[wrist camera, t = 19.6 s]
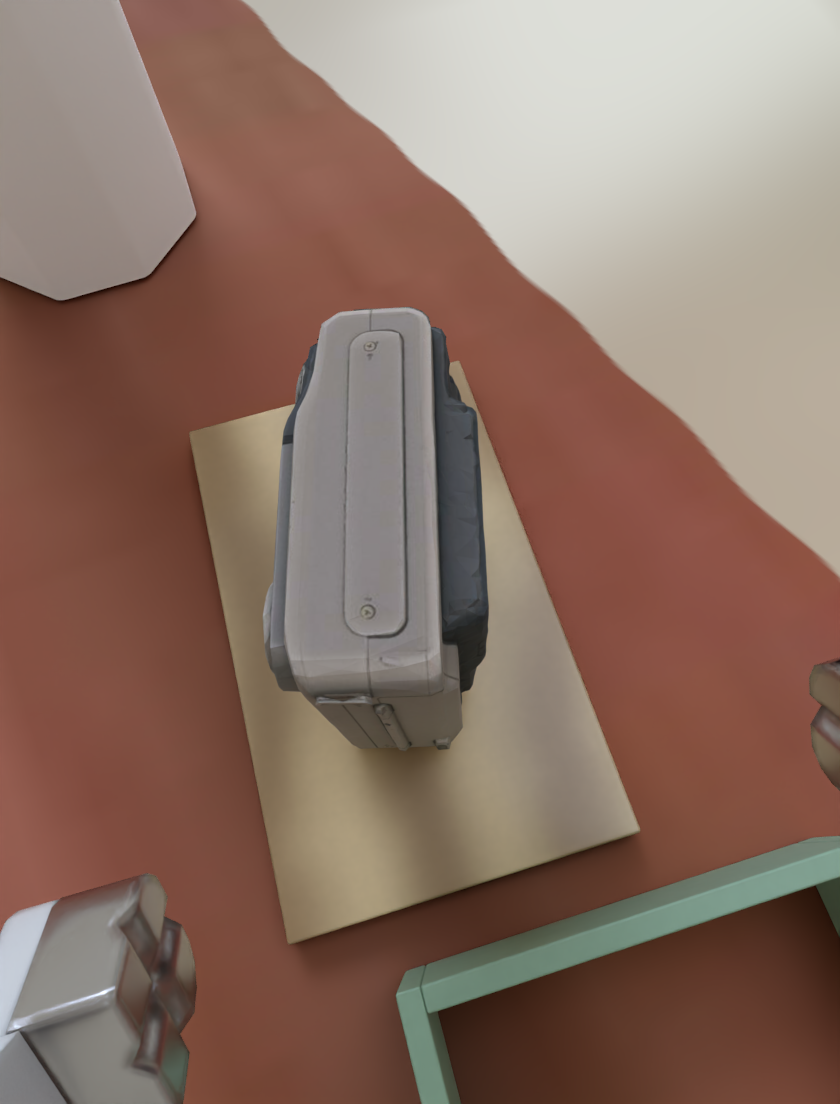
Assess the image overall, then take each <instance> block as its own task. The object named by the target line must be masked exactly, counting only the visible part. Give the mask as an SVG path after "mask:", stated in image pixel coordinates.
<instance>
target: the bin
mask: <svg viewBox="0 0 840 1104" xmlns="http://www.w3.org/2000/svg"><path fill="white" fill-rule="evenodd" d="M815 885H816V887H817V890H818V892H819V894H820V896H821V898H822V900H823V903H824V905H825V907H826V909H827V911H828V913H829V915H830V918H831V920H832V922H833V924H834V926H835V928H836V931H837V933H838V935H839V937H840V836H829V837H815V838H810V839H807V840H804V841H801V842H798V843H797V844H792V845H789V846H786V847H783V848H780V849H777V850H774V851H771V852H767V853H764V854H761V855H758V856H755V857H752V858H749V859H746V860H743V861H740V862H737V863H734V864H731V865H728V866H725V867H722V868H719V869H716V870H713V871H710V872H707V873H703V874H700V875H697V876H694V877H691V878H688V879H685V880H682V881H679V882H676V883H673V884H670V885H667V886H664V887H661V888H658V889H655V890H652V891H649V892H646V893H643V894H639V895H636V896H633V897H630V898H627V899H624V900H621V901H618V902H615V903H612V904H609V905H606V906H603V907H600V908H597V909H594V910H591V911H588V912H585V913H582V914H579V915H575V916H572V917H569V918H566V919H563V920H560V921H557V922H554V923H551V924H548V925H545V926H542V927H539V928H536V929H533V930H530V931H527V932H524V933H521V934H518V935H515V936H511V937H508V938H505V939H502V940H499V941H496V942H493V943H490V944H487V945H484V946H481V947H478V948H475V949H472V950H469V951H466V952H463V953H460V954H457V955H454V956H451V957H447V958H444V959H441V960H438V961H435V962H432V963H429V964H427V965H426V966H424V965H423V966H420V967H417V968H414V969H411V970H408V971H406V972H405V974H404V977H403V979H402V981H401V984H400V986H399V988H398V991H397V993H396V1000H397V1004H398V1008H399V1012H400V1017H401V1021H402V1025H403V1029H404V1033H405V1037H406V1042H407V1046H408V1050H409V1054H410V1058H411V1062H412V1067H413V1071H414V1075H415V1079H416V1083H417V1087H418V1092H419V1096H420V1100H421V1104H461V1101H460V1097H459V1093H458V1089H457V1085H456V1081H455V1078H454V1074H453V1070H452V1066H451V1062H450V1058H449V1054H448V1050H447V1047H446V1043H445V1039H444V1035H443V1031H442V1027H441V1023H440V1019H439V1015H438V1012H437V1011H440V1010H443V1009H446V1008H449V1007H452V1006H455V1005H458V1004H461V1003H464V1002H467V1001H470V1000H473V999H476V998H479V997H482V996H485V995H488V994H491V993H494V992H497V991H500V990H503V989H506V988H509V987H512V986H515V985H518V984H521V983H524V982H527V981H530V980H533V979H536V978H539V977H542V976H545V975H548V974H551V973H554V972H557V971H560V970H563V969H566V968H569V967H572V966H575V965H578V964H581V963H584V962H587V961H590V960H593V959H596V958H599V957H602V956H605V955H608V954H611V953H614V952H617V951H620V950H623V949H626V948H629V947H632V946H635V945H638V944H641V943H644V942H647V941H650V940H653V939H656V938H659V937H662V936H665V935H668V934H671V933H674V932H677V931H680V930H683V929H686V928H689V927H692V926H695V925H698V924H701V923H704V922H707V921H710V920H713V919H716V918H719V917H722V916H725V915H728V914H731V913H734V912H737V911H740V910H743V909H746V908H749V907H752V906H755V905H758V904H761V903H764V902H767V901H770V900H773V899H776V898H779V897H782V896H785V895H788V894H791V893H794V892H797V891H800V890H803V889H806V888H809V887H812V886H815Z"/></svg>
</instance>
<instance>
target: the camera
mask: <svg viewBox="0 0 840 1104" xmlns="http://www.w3.org/2000/svg"><path fill="white" fill-rule="evenodd" d="M317 340H318V343H317V344H315V345H313V346H312V347H310V351H309V356H308V359H307V361H306V362H305V363H304V364H303V367H302V370H301V372H300V375H299V379H298V382H297V386H296V404H295V406H294V408H293V410H292V412H291V414H290V416H289V417H288V419H287V422H286V425H285V428H284V431H283V440H282V449H281V458H280V474H279V492H278V508H277V524H276V540H275V557H274V575H273V582H272V584H271V585H270V587H269V589H268V592H267V596H266V600H265V606H264V612H263V630H264V645H265V656H266V658H267V661H268V664H269V667H270V669H271V671H272V672H273V673H274V674H275V677H276V680H277V683H278V686H279V688H280V689H282V690H283V691H291V692H301V693H302V694H303V695H304V697H305V698H306V699H307V700H308V701H309V702H310V703H311V704H312V705H313V706H314V707H315V708H316V709H317V710H318V711H319V712H320V713H321V714H322V715H323V716H324V717H325V718H326V719H327V720H328V721H329V722H330V723H331V724H332V725H334V726H335V727H336V728H337V729H338V730H339V732H340V733H341V734H342V735H343V736H344V737H345V738H346V739H347V740H348V741H349V742H350V743H351V744H352V745H354V746H356V747H358V748H360V749H368V748H396V747H398V749H399V750H401V751H406V750H407V749H408V748H409V747H430V746H436V747H437V749H438V750H445V749H450V745H451V742H452V741H453V740H454V738H455V737H456V736H457V735H458V733H459V732H460V731H461V729H462V728H463V722H462V707H461V705H462V694H461V693H462V692H465V691H468V690H470V689H471V687H472V685H473V681H474V676H475V672H476V669H477V666H478V665H479V664H480V663H481V662H482V661H483V659H484V657H485V655H486V640H487V635H488V618H489V602H488V589H487V569H486V549H485V538H484V526H483V503H482V481H481V467H480V455H479V442H478V419H477V413H476V411H475V410H474V409H473V408H472V407H469V406H466V404H465V403H464V402H462V400H461V395H460V392H459V390H458V387H457V385H456V384H455V382H454V380H453V377H452V376H451V375H450V374H449V367H450V361H449V356H448V352H447V347H446V336H445V334H444V333H443V331H442V329H439V328H436V327H431V326H430V321H429V317H428V316H427V315H426V314H425V313H424V312H422V311H421V310H418V309H415V308H412V307H403V308H386V309H359V310H354V311H347V312H339V313H337V314H336V315H334V316H333V317H331V318H330V319H328V320H327V321H326V322H324V323H323V324H322V325H321V330H320V335H319V338H318V339H317Z"/></svg>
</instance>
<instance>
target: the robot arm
mask: <svg viewBox="0 0 840 1104" xmlns="http://www.w3.org/2000/svg"><path fill="white" fill-rule="evenodd" d="M809 686H810V695H811V696H812V697H813V698H814V699H815V700H816V701H817V702H818V703H819V704H820V705H822V706H821V707H820V709H819V711H818V712H817V714H816V716H815V717H814V719H813V721H812V723H811V724H810V725H811V738H812V747H813V750H814V752H815V755H816V757H817V759H818V762H819V764H820V767H821V769H822V770H823V771H824V773H825V774H826V776H827V777H828V778H829V780H830V781H831V783H832V784H833V785H834V786H835V787H836V788H837V789H838V790H839V791H840V657H839V658H836V659H833V660H830V661H827V662H823V663H820V664H817V665H814V667H813V670H812V672H811V674H810V677H809ZM166 903H167V895H166V893H165V891H164V889H163V888H162V886H161V884H160V882H159V880H158V879H157V877H156V876H155V875H151V874H148V873H146V874H143V875H139V876H136V877H132V878H129V879H125V880H122V881H118V882H115V883H111V884H108V885H104V886H101V887H97V888H94V889H90V890H87V891H83V892H80V893H76V894H73V895H69V896H66V897H62V898H61V899H60V900H55V901H51V902H48V903H44V904H41V905H37V906H34V907H31V908H27V909H24V910H20V911H17V912H16V913H15V914H14V915H12V916H11V917H10V918H9V919H8V920H7V921H6V922H5V924H4V926H3V928H2V931H1V933H0V1104H183V1101H184V1093H185V1085H186V1077H187V1069H188V1061H189V1051H188V1049H187V1047H186V1045H185V1043H184V1041H183V1039H182V1037H181V1035H180V1033H181V1032H182V1030H183V1029H184V1027H185V1026H186V1024H187V1023H188V1021H189V1020H190V1018H191V1017H192V1015H193V1014H194V1011H195V1001H196V991H197V985H196V973H195V961H194V957H193V953H192V950H191V946H190V943H189V940H188V937H187V935H186V933H185V931H184V929H183V927H182V925H181V924H179V923H177V922H175V921H173V920H171V919H169V918H167V917H165V916H164V914H165V908H166Z"/></svg>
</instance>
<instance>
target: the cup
mask: <svg viewBox="0 0 840 1104" xmlns="http://www.w3.org/2000/svg"><path fill="white" fill-rule="evenodd" d="M195 217H196V210H195V207H194V203H193V200H192V197H191V193H190V190H189V187H188V183H187V180H186V177H185V173H184V170H183V166H182V163H181V160H180V157H179V155H178V152H177V150H176V147H175V144H174V142H173V139H172V137H171V134H170V132H169V129H168V126H167V124H166V121H165V119H164V116H163V113H162V111H161V108H160V106H159V103H158V100H157V98H156V95H155V93H154V90H153V88H152V85H151V82H150V80H149V77H148V75H147V72H146V69H145V67H144V64H143V62H142V59H141V56H140V54H139V51H138V49H137V46H136V43H135V41H134V38H133V36H132V33H131V31H130V28H129V25H128V23H127V20H126V18H125V15H124V12H123V10H122V7H121V5H120V2H119V0H0V277H1V278H4V279H6V280H9V281H11V282H14V283H16V284H18V285H21V286H23V287H26V288H28V289H31V290H33V291H36V292H38V293H41V294H43V295H46V296H48V297H51V298H53V299H55V300H66V299H70V298H74V297H77V296H81V295H84V294H88V293H91V292H95V291H98V290H102V289H105V288H109V287H113V286H116V285H120V284H123V283H127V282H130V281H134V280H137V279H141V278H144V277H146V276H148V275H149V274H151V273H152V271H153V270H154V269H155V268H156V266H157V265H158V264H159V263H160V261H161V260H162V259H163V258H164V256H165V255H166V254H167V253H168V251H169V250H170V249H171V248H172V246H173V245H174V244H175V243H176V241H177V240H178V239H179V238H180V236H181V235H182V234H183V233H184V231H185V230H186V229H187V228H188V226H189V225H190V224H191V223H192V221H193V220H194V219H195Z"/></svg>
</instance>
